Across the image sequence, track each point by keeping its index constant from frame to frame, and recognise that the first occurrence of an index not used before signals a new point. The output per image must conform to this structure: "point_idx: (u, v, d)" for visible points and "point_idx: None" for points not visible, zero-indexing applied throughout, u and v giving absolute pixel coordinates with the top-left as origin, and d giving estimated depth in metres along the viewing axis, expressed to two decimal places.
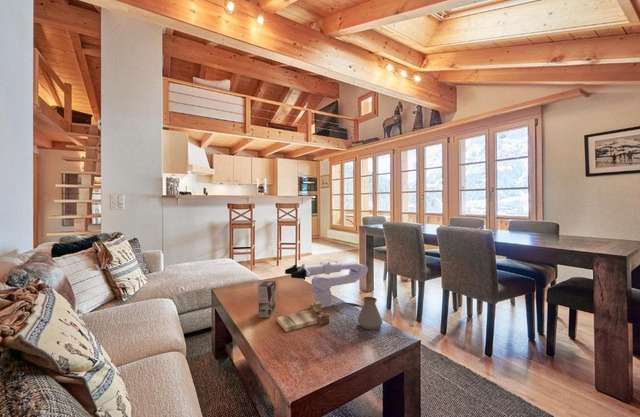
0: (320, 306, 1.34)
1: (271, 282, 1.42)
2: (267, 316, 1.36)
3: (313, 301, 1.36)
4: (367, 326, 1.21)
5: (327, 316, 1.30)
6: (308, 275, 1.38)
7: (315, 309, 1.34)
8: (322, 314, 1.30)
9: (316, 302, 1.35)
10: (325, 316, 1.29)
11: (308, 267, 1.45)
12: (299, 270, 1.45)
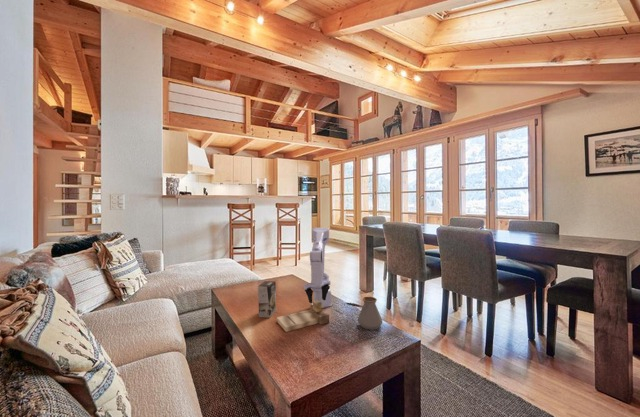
0: (320, 306, 1.34)
1: (271, 282, 1.42)
2: (267, 316, 1.36)
3: (313, 301, 1.36)
4: (367, 326, 1.21)
5: (327, 316, 1.30)
6: None
7: (315, 309, 1.34)
8: (322, 314, 1.30)
9: (316, 302, 1.35)
10: (325, 316, 1.29)
11: (322, 279, 1.33)
12: (314, 287, 1.34)
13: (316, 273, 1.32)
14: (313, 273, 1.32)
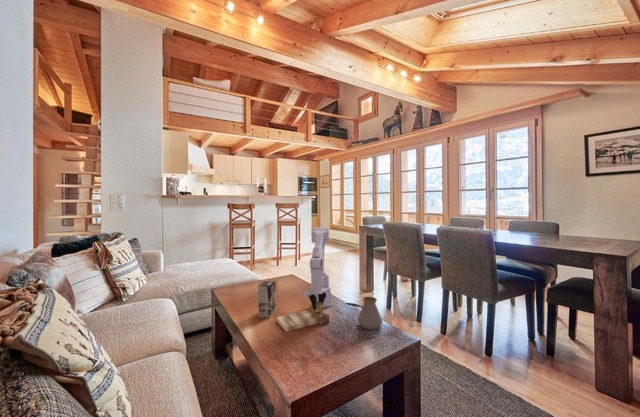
0: (320, 306, 1.34)
1: (271, 282, 1.42)
2: (267, 316, 1.36)
3: None
4: (367, 326, 1.21)
5: (327, 316, 1.30)
6: None
7: None
8: (322, 314, 1.30)
9: (316, 302, 1.35)
10: (325, 316, 1.29)
11: (322, 287, 1.34)
12: (314, 294, 1.34)
13: (316, 280, 1.32)
14: (313, 280, 1.32)
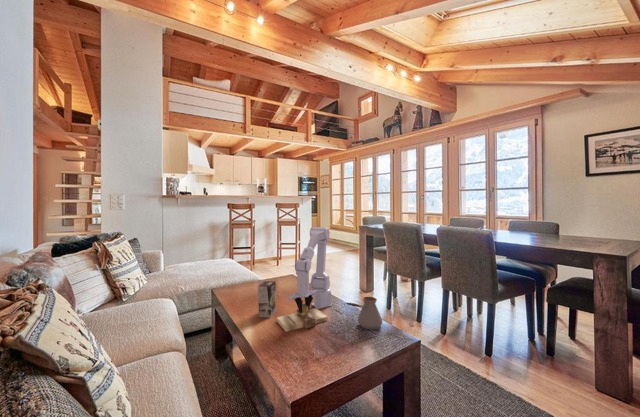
0: (306, 309, 1.30)
1: (271, 282, 1.42)
2: (267, 316, 1.36)
3: None
4: (367, 326, 1.21)
5: (313, 320, 1.26)
6: None
7: None
8: (308, 318, 1.26)
9: (302, 305, 1.31)
10: (311, 320, 1.25)
11: (308, 290, 1.30)
12: (300, 297, 1.30)
13: (300, 283, 1.28)
14: (298, 283, 1.29)
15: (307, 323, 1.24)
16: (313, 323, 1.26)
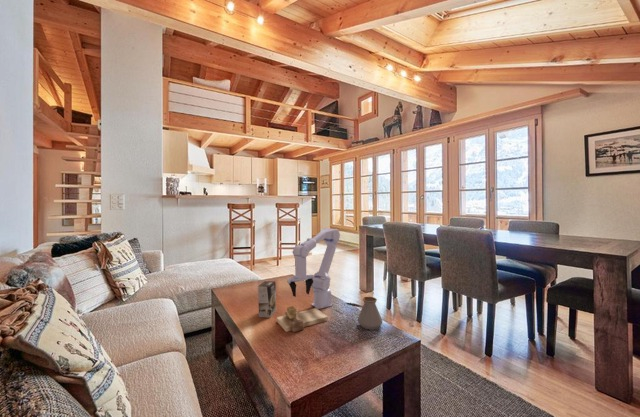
0: (294, 312, 1.27)
1: (271, 282, 1.42)
2: (267, 316, 1.36)
3: (287, 307, 1.29)
4: (367, 326, 1.21)
5: (301, 323, 1.23)
6: None
7: (289, 315, 1.27)
8: (296, 321, 1.23)
9: (290, 308, 1.28)
10: (298, 323, 1.22)
11: (305, 274, 1.38)
12: None
13: (296, 267, 1.37)
14: (295, 267, 1.38)
15: (294, 326, 1.21)
16: (301, 326, 1.23)
